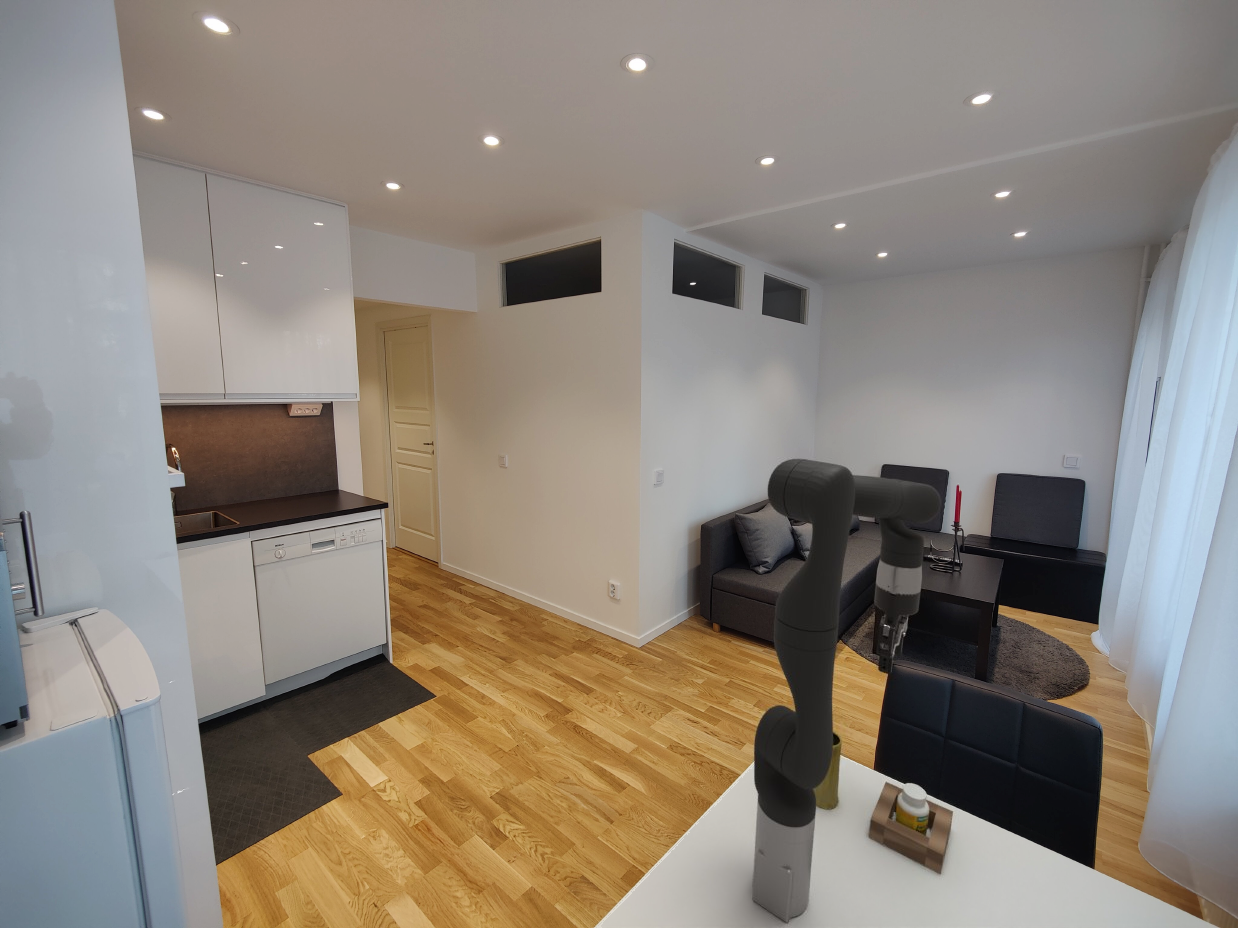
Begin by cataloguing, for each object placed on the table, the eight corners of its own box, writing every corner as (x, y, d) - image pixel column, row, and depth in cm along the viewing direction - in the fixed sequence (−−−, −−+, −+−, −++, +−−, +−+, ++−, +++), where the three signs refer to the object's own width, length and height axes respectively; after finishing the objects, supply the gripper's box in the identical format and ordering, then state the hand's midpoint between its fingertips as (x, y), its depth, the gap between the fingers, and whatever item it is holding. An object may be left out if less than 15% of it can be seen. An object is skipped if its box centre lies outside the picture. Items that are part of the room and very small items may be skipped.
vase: (841, 794, 112) (846, 734, 109) (835, 814, 107) (840, 752, 104) (811, 782, 115) (815, 723, 113) (804, 801, 110) (808, 740, 107)
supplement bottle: (903, 817, 106) (908, 775, 104) (931, 837, 102) (936, 793, 100) (888, 830, 103) (893, 787, 101) (916, 850, 99) (921, 806, 97)
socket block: (940, 873, 94) (943, 854, 94) (868, 836, 102) (870, 818, 101) (950, 828, 104) (953, 811, 103) (884, 797, 111) (885, 781, 110)
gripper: (885, 568, 108) (878, 641, 111) (866, 591, 97) (859, 671, 100) (927, 577, 104) (918, 653, 107) (912, 602, 93) (903, 686, 96)
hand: (889, 662), depth 103 cm, fingers open, 8 cm apart
